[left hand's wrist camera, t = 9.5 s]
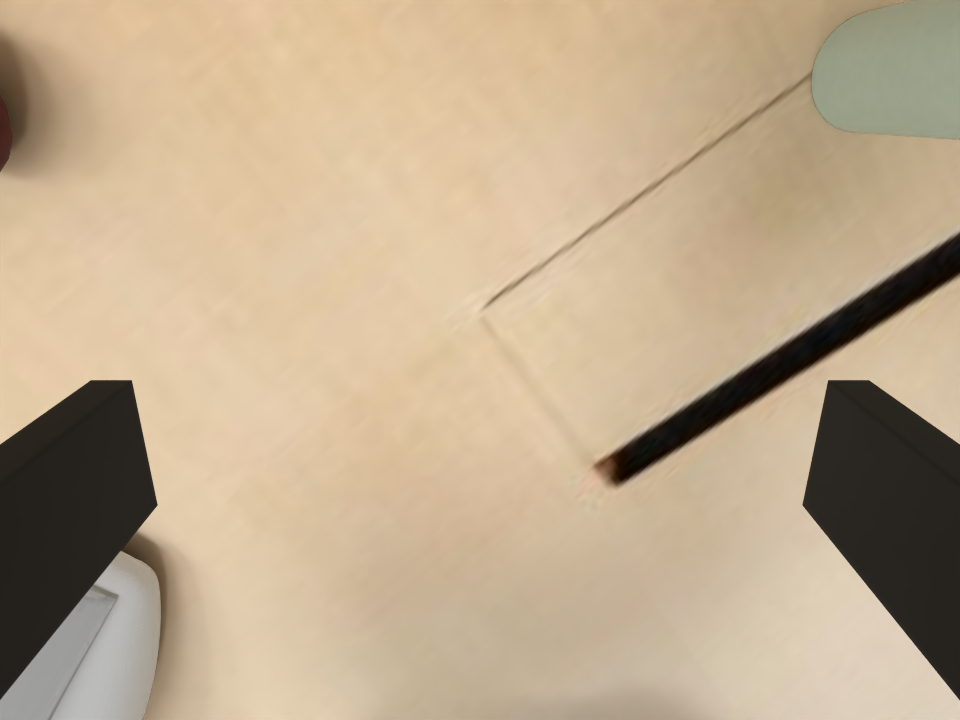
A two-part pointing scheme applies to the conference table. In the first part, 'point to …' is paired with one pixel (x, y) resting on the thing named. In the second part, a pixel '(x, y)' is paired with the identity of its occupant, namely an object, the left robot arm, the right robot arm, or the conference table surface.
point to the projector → (96, 653)
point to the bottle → (893, 71)
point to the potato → (4, 134)
